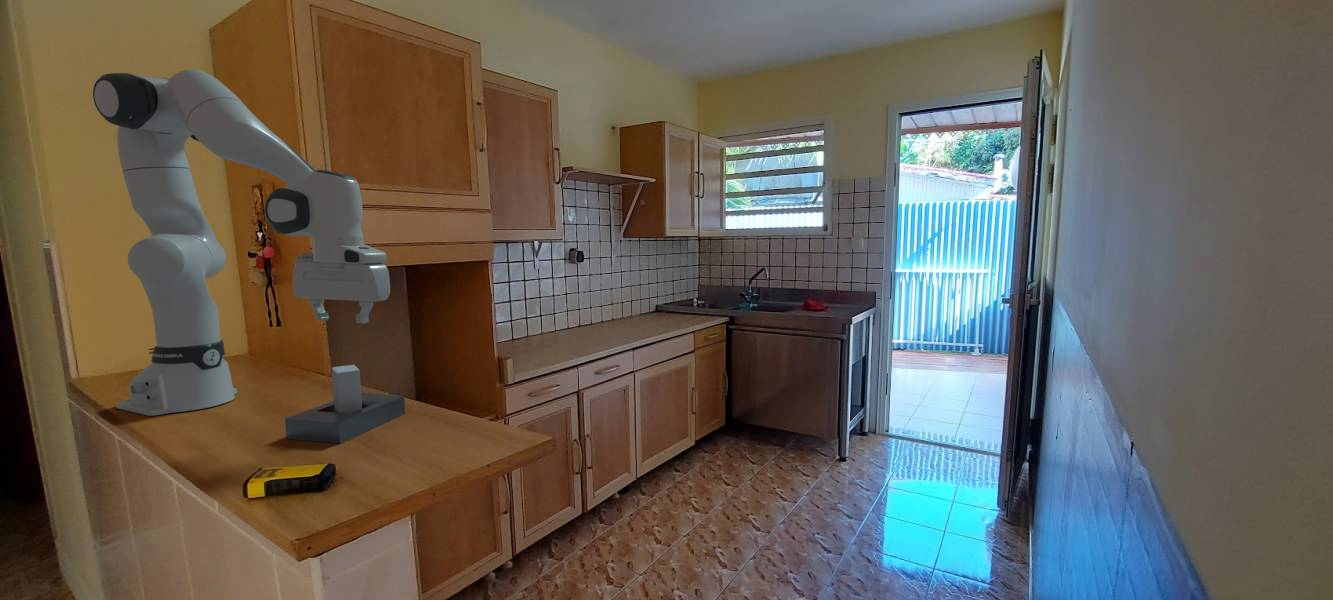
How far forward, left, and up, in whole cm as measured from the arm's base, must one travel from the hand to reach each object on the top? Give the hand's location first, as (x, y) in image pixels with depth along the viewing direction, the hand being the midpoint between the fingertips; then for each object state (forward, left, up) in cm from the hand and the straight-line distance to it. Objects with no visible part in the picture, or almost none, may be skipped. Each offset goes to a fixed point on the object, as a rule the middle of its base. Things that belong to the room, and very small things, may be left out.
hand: (342, 321), depth 109 cm
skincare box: (+1, -1, -22) cm, 22 cm away
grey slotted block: (+1, -1, -21) cm, 21 cm away
